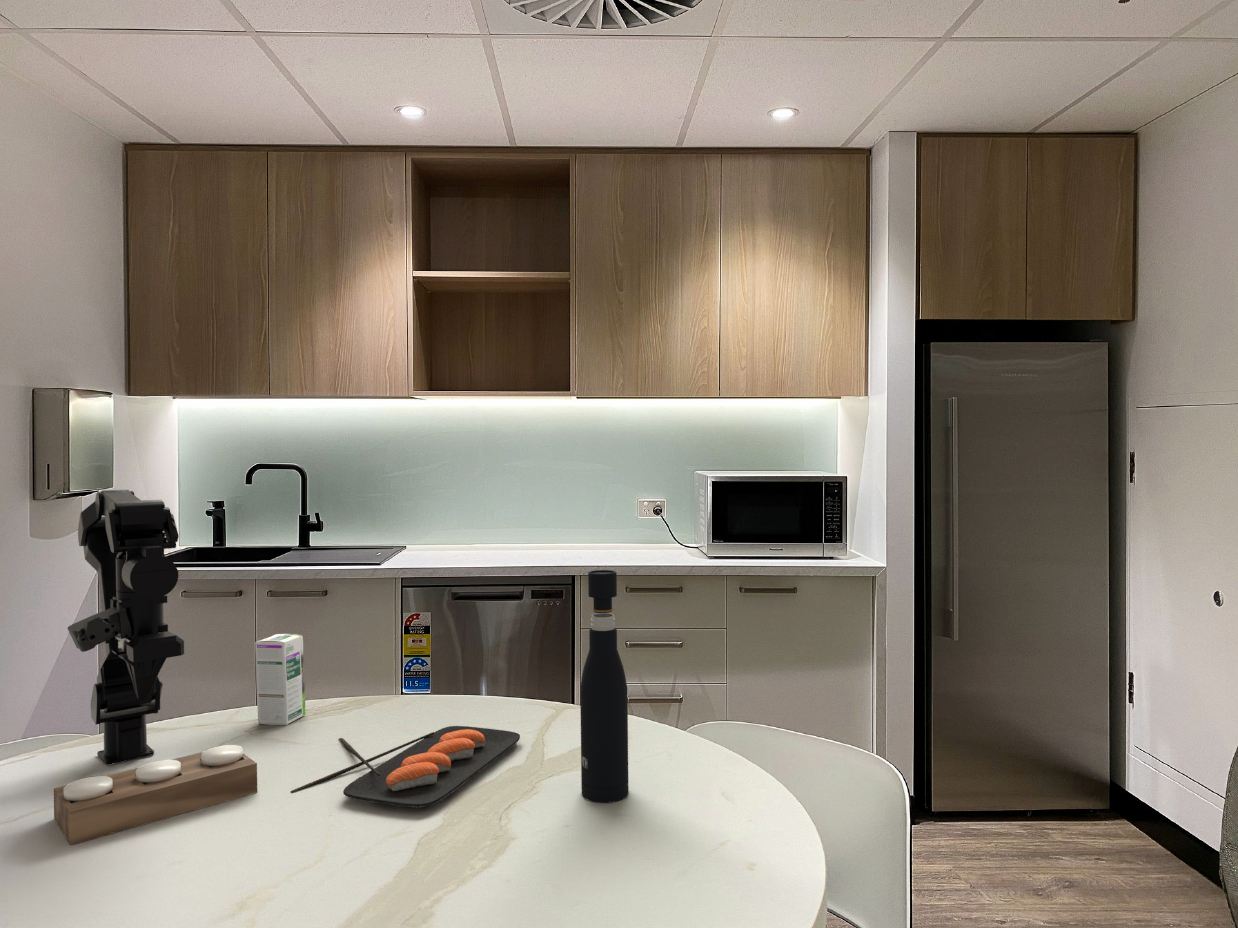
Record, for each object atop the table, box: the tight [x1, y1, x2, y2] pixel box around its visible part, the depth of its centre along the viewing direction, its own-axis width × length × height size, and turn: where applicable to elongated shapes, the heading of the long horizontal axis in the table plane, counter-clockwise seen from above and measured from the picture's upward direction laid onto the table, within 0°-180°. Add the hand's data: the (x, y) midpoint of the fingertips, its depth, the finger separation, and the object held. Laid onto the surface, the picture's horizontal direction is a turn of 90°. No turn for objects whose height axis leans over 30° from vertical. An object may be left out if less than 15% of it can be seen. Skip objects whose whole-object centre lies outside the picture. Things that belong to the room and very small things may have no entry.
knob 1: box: [64, 775, 113, 803], centre depth 105 cm, size 5×5×4 cm
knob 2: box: [201, 744, 244, 768], centre depth 116 cm, size 5×5×4 cm
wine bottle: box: [579, 569, 630, 804], centre depth 113 cm, size 6×6×30 cm
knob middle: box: [136, 759, 181, 785], centre depth 111 cm, size 5×5×4 cm
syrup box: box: [254, 633, 306, 726], centre depth 145 cm, size 6×6×14 cm
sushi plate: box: [290, 725, 521, 808], centre depth 124 cm, size 29×30×4 cm
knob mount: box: [52, 751, 258, 846], centre depth 111 cm, size 10×22×4 cm, turn 133°
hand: (142, 698), depth 118 cm, fingers closed
